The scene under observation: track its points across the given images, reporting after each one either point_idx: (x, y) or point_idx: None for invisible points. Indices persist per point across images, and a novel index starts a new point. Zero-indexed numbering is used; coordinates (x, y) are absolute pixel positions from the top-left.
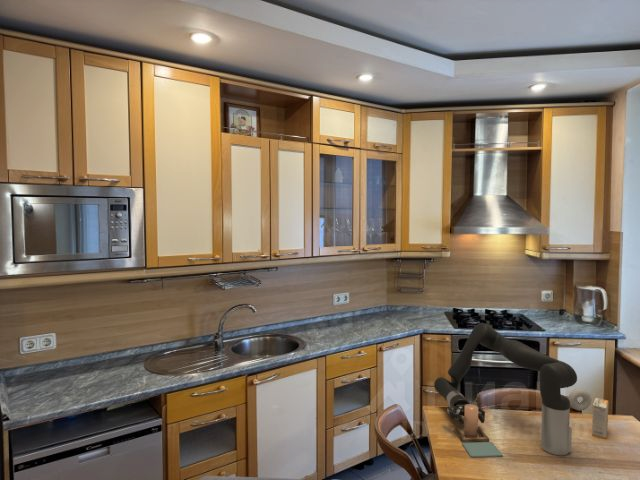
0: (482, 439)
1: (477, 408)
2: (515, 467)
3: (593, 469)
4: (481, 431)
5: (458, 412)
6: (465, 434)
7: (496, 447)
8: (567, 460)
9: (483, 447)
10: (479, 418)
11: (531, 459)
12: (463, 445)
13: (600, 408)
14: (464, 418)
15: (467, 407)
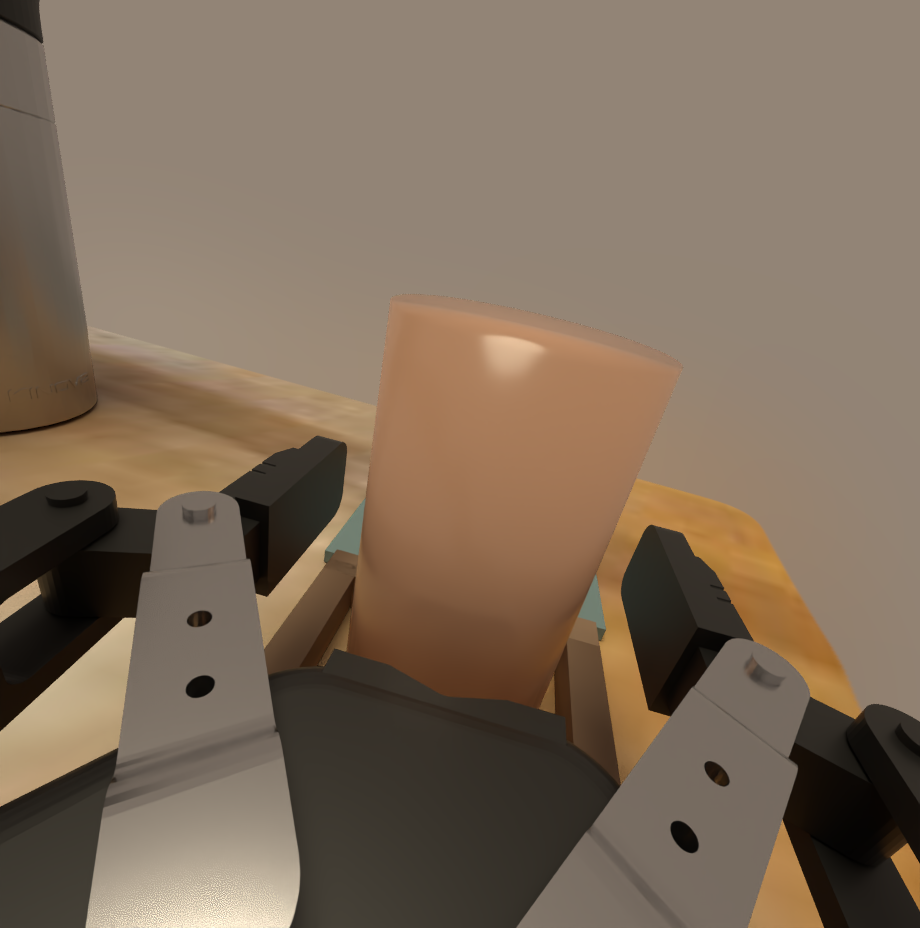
0: None
1: (449, 298)
2: None
3: (103, 342)
4: (280, 666)
5: (730, 684)
6: None
7: (359, 506)
8: (105, 373)
9: None
10: (291, 544)
11: (262, 423)
12: (599, 606)
13: None
14: (584, 599)
15: (628, 346)
